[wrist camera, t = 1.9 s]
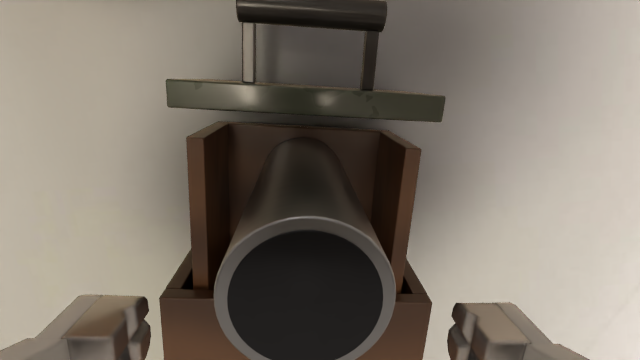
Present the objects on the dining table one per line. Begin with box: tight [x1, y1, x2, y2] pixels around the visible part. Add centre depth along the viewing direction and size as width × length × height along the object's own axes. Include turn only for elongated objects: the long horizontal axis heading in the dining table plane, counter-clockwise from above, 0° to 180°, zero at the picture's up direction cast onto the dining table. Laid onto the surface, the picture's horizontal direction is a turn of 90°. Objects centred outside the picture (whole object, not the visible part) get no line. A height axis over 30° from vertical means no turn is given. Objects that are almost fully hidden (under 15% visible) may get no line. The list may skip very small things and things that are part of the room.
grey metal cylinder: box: [214, 137, 396, 360], centre depth 16 cm, size 5×5×13 cm
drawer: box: [166, 0, 445, 294], centre depth 20 cm, size 19×12×7 cm, turn 177°
